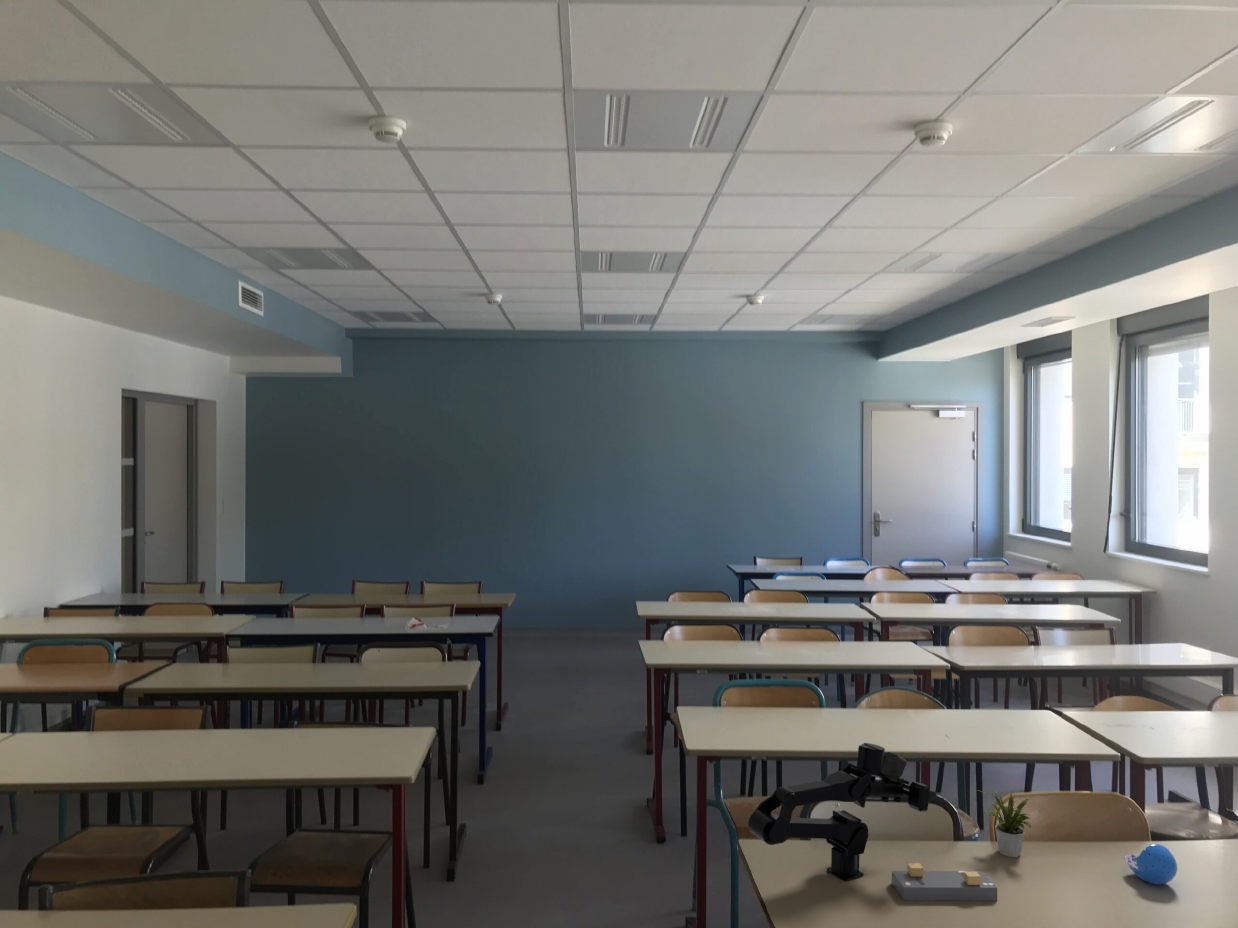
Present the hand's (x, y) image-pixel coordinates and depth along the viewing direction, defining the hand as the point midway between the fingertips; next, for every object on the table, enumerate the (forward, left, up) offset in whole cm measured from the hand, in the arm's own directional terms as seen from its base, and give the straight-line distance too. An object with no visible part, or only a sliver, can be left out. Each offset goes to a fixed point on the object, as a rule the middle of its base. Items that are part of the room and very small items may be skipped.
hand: (921, 788), depth 212 cm
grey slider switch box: (-11, -16, -17) cm, 26 cm away
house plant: (+21, -10, -17) cm, 29 cm away
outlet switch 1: (-16, -11, -14) cm, 24 cm away
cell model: (+39, -37, -17) cm, 56 cm away
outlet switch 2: (-7, -20, -14) cm, 26 cm away
